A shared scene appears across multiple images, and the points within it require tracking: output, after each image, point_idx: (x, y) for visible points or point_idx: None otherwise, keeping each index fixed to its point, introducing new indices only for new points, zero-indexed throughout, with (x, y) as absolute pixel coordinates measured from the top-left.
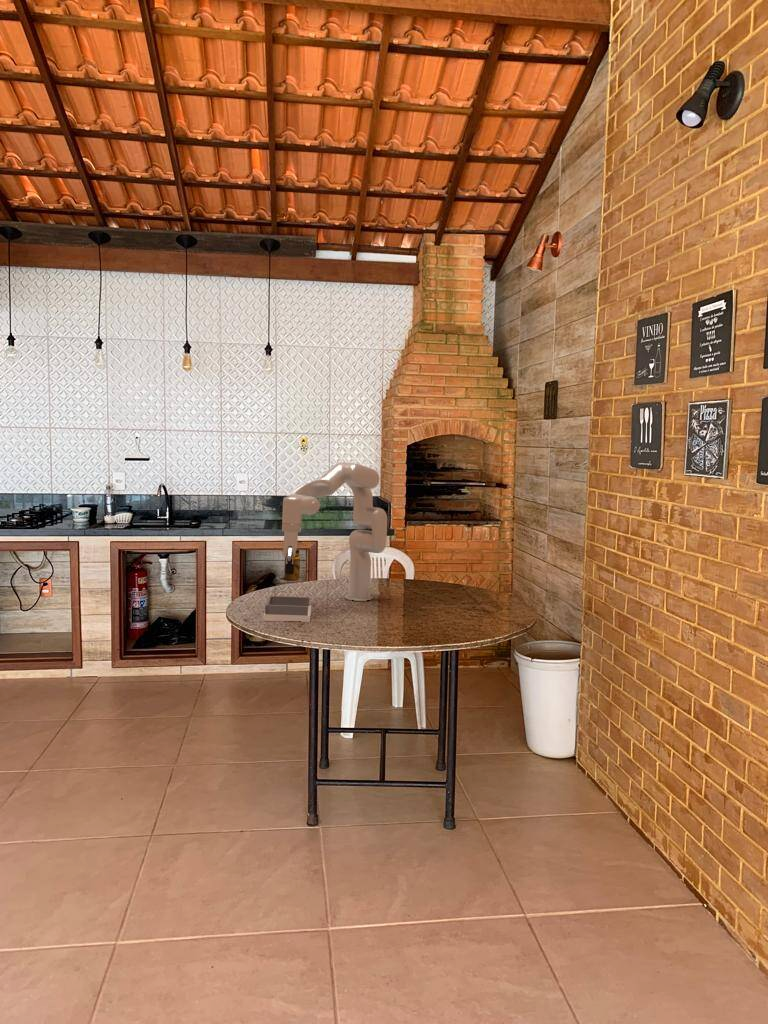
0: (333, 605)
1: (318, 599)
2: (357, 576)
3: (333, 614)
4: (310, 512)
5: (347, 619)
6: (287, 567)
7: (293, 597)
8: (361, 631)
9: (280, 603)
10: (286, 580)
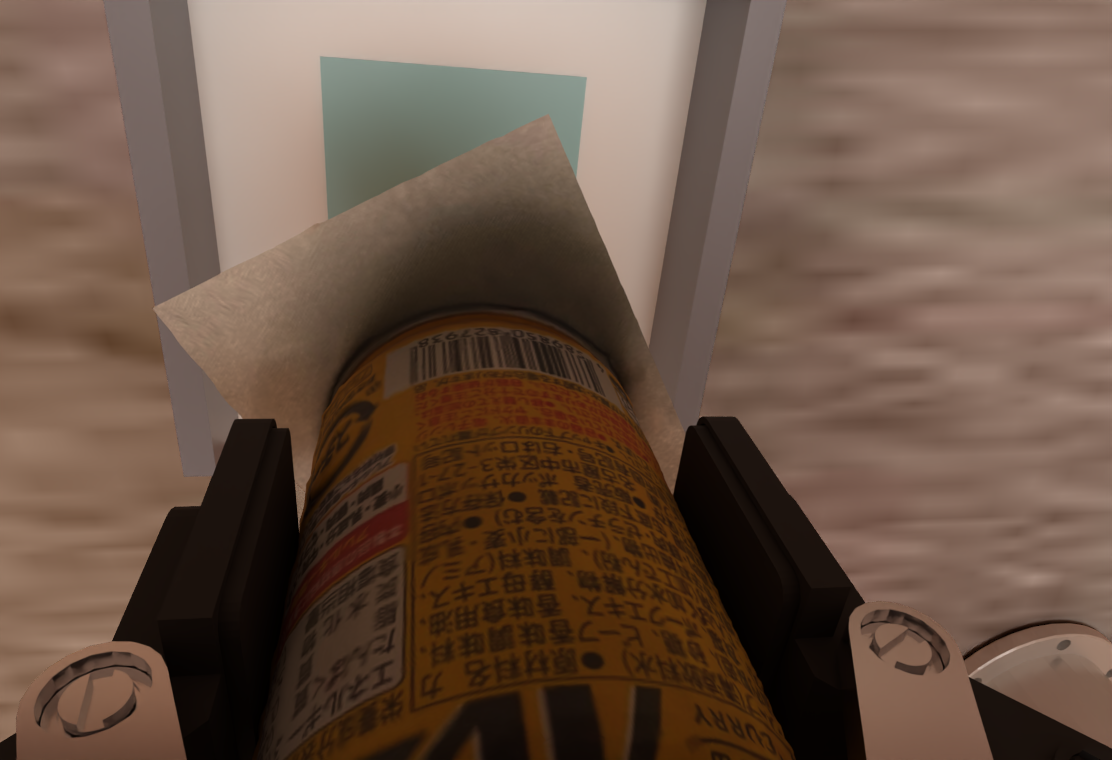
0: (845, 559)
1: (1074, 451)
2: None
3: None
4: None
5: None
6: (138, 594)
7: (691, 302)
8: None
9: (693, 117)
10: (341, 354)
